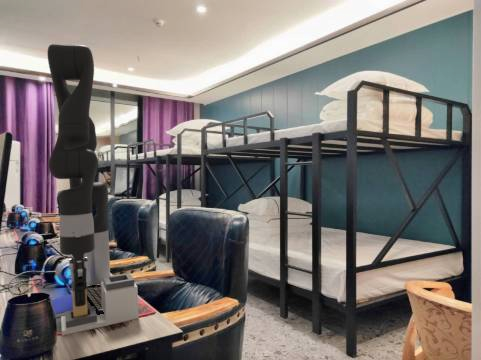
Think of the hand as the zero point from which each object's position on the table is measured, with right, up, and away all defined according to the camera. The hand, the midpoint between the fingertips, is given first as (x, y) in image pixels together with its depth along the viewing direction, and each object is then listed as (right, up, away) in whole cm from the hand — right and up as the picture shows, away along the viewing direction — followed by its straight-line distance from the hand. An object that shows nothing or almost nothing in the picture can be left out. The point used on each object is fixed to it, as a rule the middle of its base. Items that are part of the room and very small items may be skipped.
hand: (79, 302), depth 83 cm
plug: (0, -3, 0) cm, 3 cm away
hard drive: (-9, -6, +12) cm, 16 cm away
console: (+4, -5, +2) cm, 7 cm away
